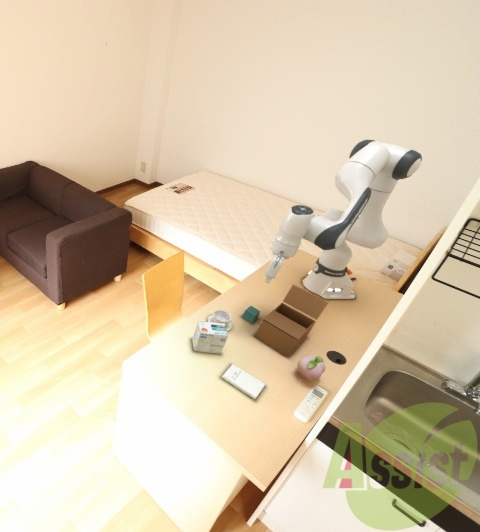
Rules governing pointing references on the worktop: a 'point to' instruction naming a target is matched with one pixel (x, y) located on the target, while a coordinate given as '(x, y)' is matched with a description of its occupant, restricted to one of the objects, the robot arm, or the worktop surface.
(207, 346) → the light bulb box
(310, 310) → the flap
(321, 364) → the decorative fruit
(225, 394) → the worktop surface
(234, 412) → the worktop surface
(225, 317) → the teacup
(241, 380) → the hard drive
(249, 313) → the block
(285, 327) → the carton
